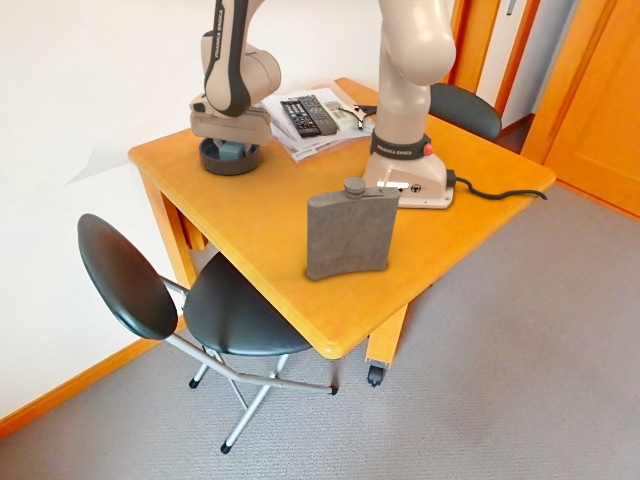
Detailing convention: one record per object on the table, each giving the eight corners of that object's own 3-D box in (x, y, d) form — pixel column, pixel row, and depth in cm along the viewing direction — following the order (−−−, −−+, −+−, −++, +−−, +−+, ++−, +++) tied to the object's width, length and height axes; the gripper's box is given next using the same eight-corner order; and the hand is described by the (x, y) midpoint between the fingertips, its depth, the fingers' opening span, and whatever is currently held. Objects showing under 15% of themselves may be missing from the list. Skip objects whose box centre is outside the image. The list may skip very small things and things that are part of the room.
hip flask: (308, 281, 75) (309, 195, 61) (304, 265, 78) (304, 180, 64) (388, 269, 78) (405, 184, 64) (381, 254, 81) (396, 171, 67)
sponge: (232, 151, 108) (229, 136, 105) (249, 153, 107) (247, 138, 104) (221, 165, 102) (218, 150, 99) (239, 168, 102) (237, 152, 99)
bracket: (336, 129, 120) (337, 120, 118) (339, 107, 131) (339, 99, 129) (384, 132, 120) (385, 123, 118) (382, 110, 131) (383, 102, 129)
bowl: (268, 149, 110) (267, 134, 107) (249, 180, 99) (248, 164, 96) (215, 142, 112) (213, 127, 109) (191, 171, 101) (188, 156, 98)
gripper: (273, 102, 95) (276, 153, 105) (194, 93, 98) (204, 143, 107) (265, 114, 91) (269, 166, 100) (182, 103, 94) (193, 155, 103)
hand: (234, 154), depth 104 cm, fingers closed on sponge, 5 cm apart
